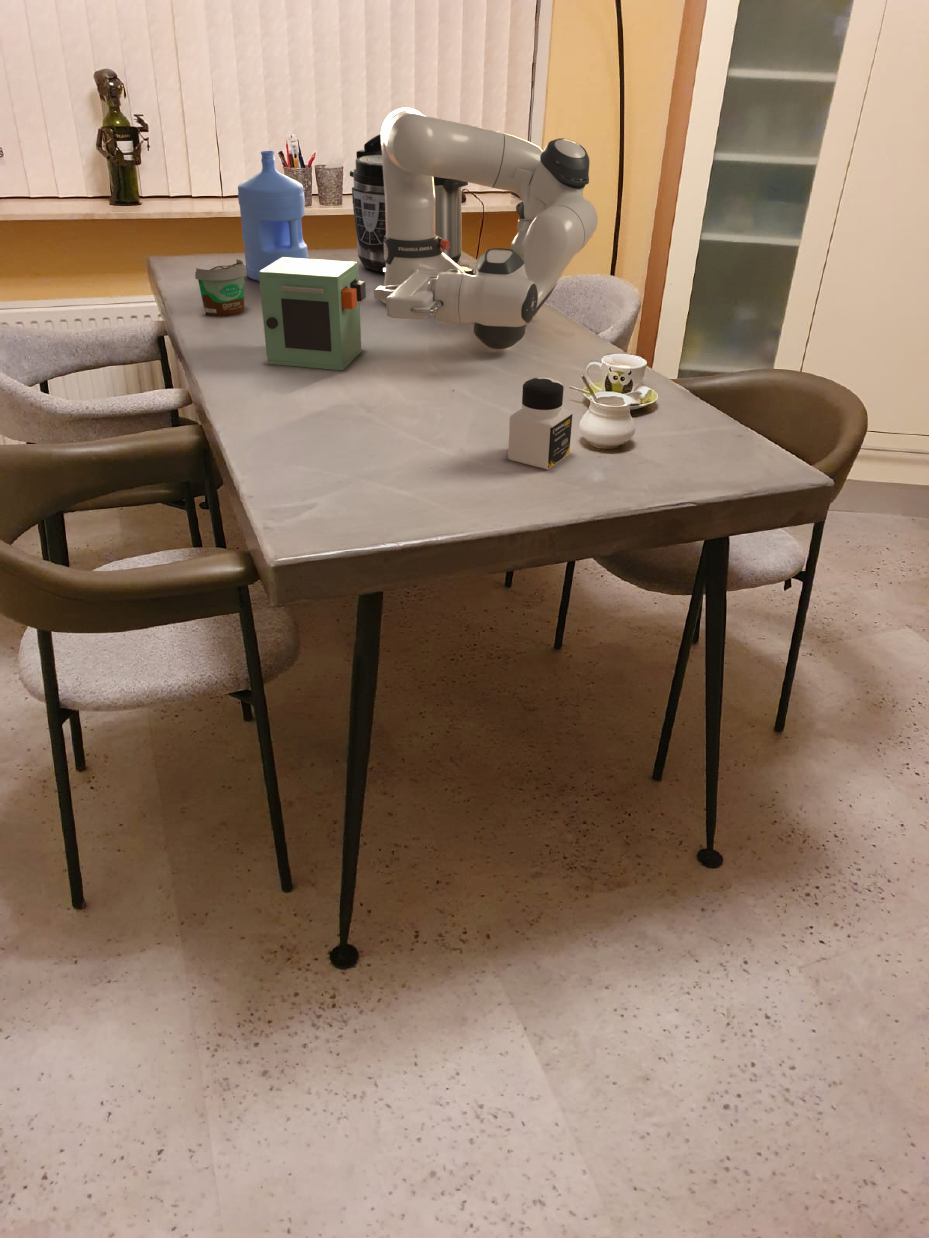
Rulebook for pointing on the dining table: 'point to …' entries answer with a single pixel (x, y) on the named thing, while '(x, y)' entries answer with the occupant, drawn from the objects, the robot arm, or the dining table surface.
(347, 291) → the button
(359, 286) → the timer button
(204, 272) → the food container
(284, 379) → the dining table surface
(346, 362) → the green box
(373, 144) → the pressure cooker
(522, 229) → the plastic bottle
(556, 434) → the medicine bottle
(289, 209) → the water jug
